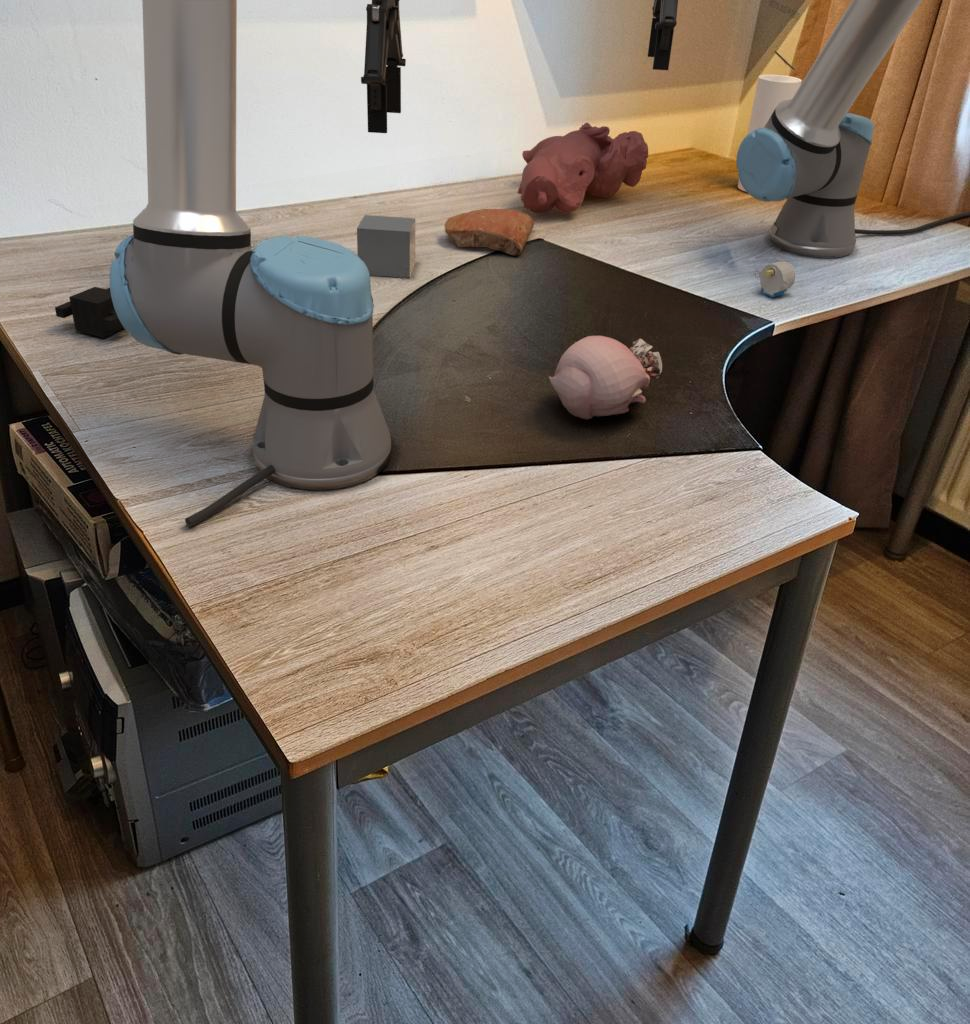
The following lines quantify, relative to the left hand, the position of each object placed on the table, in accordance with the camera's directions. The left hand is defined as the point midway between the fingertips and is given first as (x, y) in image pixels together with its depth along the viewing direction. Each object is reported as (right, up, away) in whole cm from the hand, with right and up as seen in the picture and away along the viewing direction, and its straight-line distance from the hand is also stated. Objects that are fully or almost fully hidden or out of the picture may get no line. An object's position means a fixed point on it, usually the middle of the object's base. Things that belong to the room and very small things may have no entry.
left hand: (385, 122), depth 145 cm
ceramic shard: (+16, -10, +27) cm, 33 cm away
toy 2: (+29, -46, -25) cm, 60 cm away
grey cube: (-1, -19, +13) cm, 23 cm away
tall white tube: (+73, +11, +63) cm, 97 cm away
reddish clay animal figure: (+33, +3, +47) cm, 57 cm away
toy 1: (-33, -28, -3) cm, 43 cm away
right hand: (+47, +23, +31) cm, 61 cm away
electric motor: (+61, -24, +10) cm, 66 cm away
